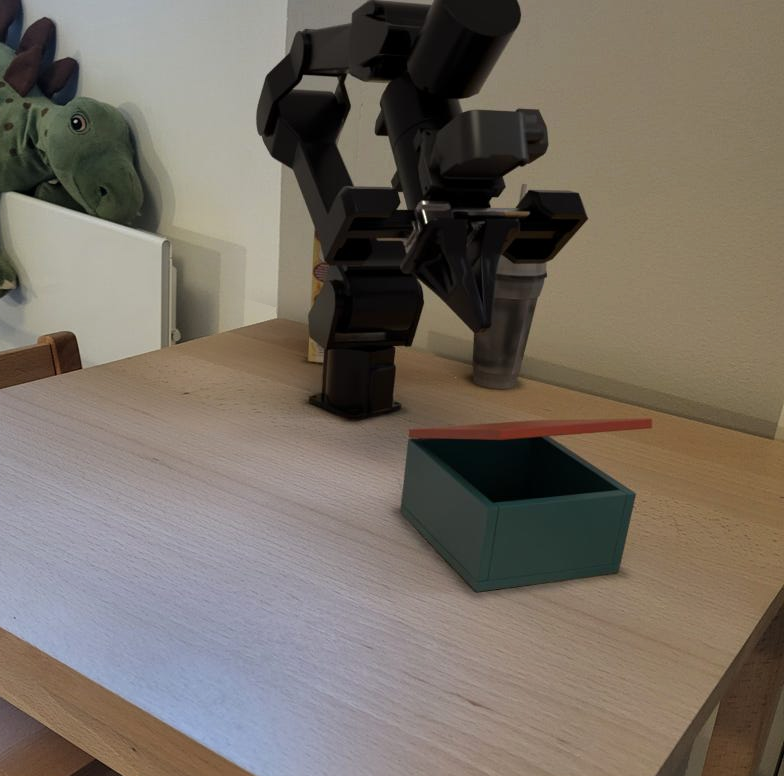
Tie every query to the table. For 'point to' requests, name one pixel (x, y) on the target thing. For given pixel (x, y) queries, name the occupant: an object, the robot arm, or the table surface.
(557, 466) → the teal open box
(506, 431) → the lid
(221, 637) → the table surface
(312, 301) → the candy box
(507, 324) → the beverage cup
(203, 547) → the table surface
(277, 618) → the table surface
